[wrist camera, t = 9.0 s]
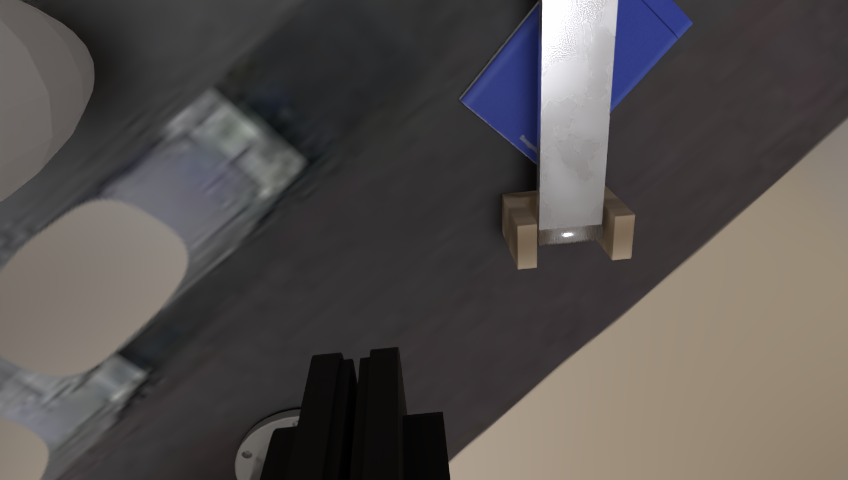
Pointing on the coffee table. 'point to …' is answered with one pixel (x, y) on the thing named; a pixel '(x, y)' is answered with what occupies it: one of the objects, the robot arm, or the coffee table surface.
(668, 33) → the hard drive
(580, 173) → the grey long flat bar
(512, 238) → the pivot bracket
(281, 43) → the coffee table surface
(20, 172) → the cup
